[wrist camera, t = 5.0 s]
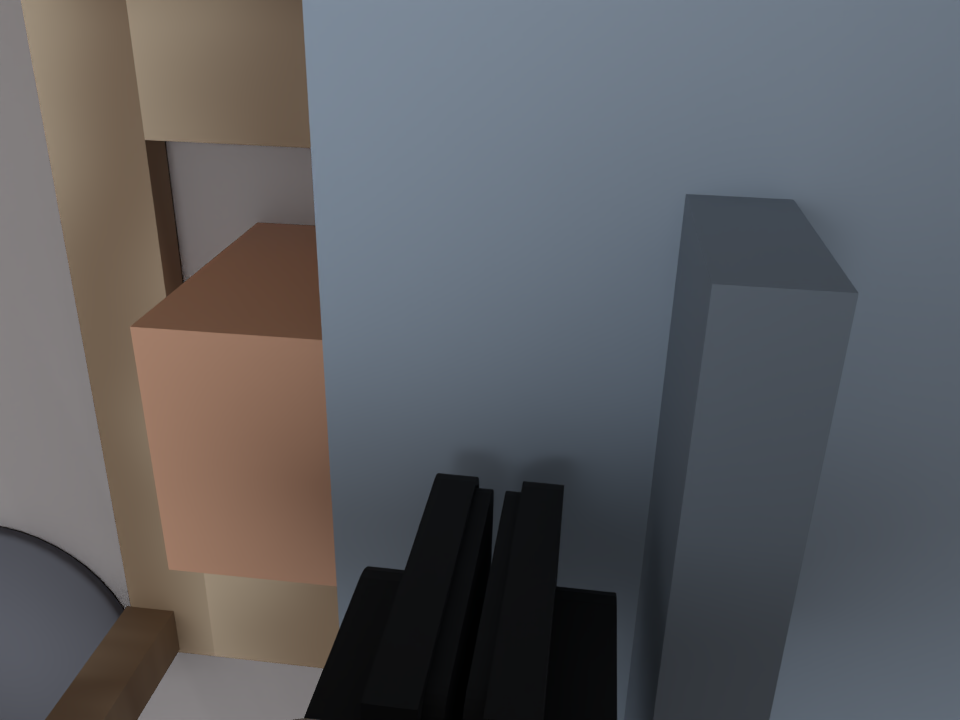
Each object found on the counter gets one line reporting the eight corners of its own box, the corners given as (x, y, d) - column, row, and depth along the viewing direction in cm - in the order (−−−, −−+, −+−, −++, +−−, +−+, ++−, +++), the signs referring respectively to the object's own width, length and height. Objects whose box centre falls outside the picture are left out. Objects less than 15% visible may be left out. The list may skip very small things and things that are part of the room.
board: (1611, -121, 13) (2213, -154, 8) (1195, 739, 21) (1380, 995, 16) (16, -142, 16) (-253, -178, 11) (149, 625, 24) (23, 812, 18)
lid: (1296, -155, 9) (1717, -211, 6) (912, 944, 16) (992, 1211, 13) (315, -164, 10) (163, -216, 7) (366, 870, 17) (307, 1099, 14)
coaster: (118, 538, 22) (111, 547, 22) (156, 744, 25) (149, 756, 25) (-143, 512, 23) (-154, 521, 23) (-77, 715, 26) (-86, 726, 26)
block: (476, 234, 18) (426, 347, 13) (474, 432, 20) (429, 595, 15) (258, 222, 19) (130, 326, 14) (275, 416, 20) (168, 570, 16)
